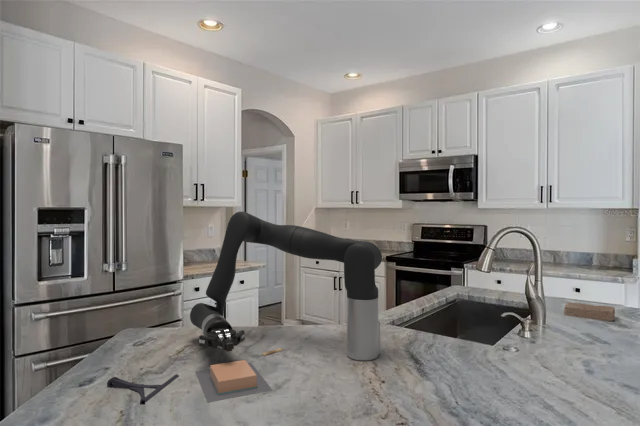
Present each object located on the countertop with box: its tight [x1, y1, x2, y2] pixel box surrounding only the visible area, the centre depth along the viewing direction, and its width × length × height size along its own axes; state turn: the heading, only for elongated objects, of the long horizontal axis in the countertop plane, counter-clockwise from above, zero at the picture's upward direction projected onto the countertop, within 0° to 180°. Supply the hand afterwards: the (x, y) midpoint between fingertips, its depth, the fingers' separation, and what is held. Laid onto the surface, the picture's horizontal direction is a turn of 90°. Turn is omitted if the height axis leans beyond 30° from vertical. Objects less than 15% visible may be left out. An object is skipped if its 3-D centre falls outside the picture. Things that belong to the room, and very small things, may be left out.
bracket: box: [106, 373, 180, 405], centre depth 102 cm, size 14×15×3 cm
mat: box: [195, 362, 273, 403], centre depth 105 cm, size 15×19×1 cm
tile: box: [209, 359, 257, 395], centre depth 104 cm, size 9×3×11 cm
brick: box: [563, 302, 616, 322], centre depth 168 cm, size 17×8×5 cm, turn 52°
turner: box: [261, 347, 284, 357], centre depth 123 cm, size 13×3×1 cm, turn 134°
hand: (229, 347), depth 107 cm, fingers closed
